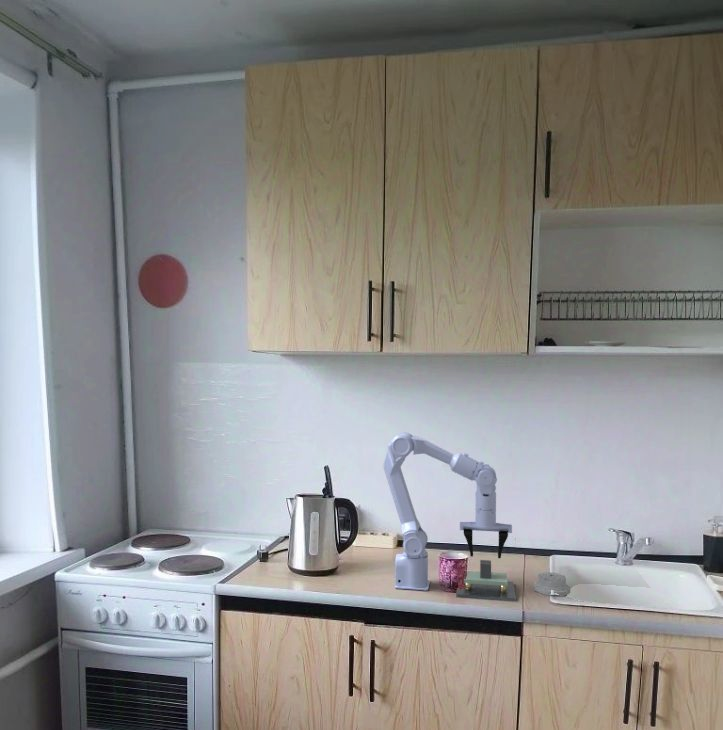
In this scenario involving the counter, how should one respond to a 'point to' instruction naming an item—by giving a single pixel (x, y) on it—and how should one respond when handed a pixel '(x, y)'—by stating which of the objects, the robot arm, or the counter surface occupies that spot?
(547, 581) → the mechanical component
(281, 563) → the counter surface
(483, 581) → the circuit board
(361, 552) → the counter surface
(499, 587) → the plate
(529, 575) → the counter surface
